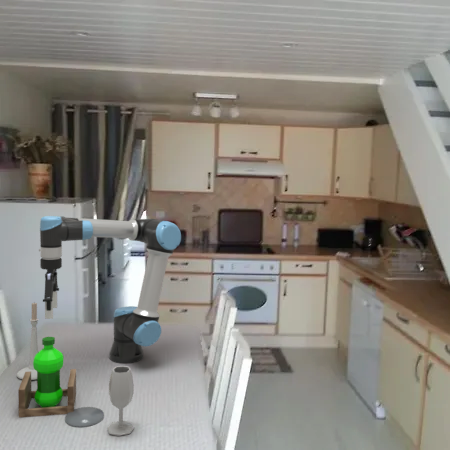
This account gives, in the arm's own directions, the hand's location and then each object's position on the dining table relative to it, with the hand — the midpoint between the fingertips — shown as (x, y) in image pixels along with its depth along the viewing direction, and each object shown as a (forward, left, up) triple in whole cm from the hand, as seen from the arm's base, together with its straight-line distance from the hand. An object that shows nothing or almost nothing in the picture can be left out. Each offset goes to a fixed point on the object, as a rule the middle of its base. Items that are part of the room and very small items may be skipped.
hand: (51, 313), depth 188 cm
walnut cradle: (0, +12, -31) cm, 33 cm away
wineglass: (-25, +33, -31) cm, 52 cm away
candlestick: (+9, -16, -31) cm, 36 cm away
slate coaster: (-13, +23, -31) cm, 41 cm away
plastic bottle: (0, +12, -31) cm, 33 cm away
